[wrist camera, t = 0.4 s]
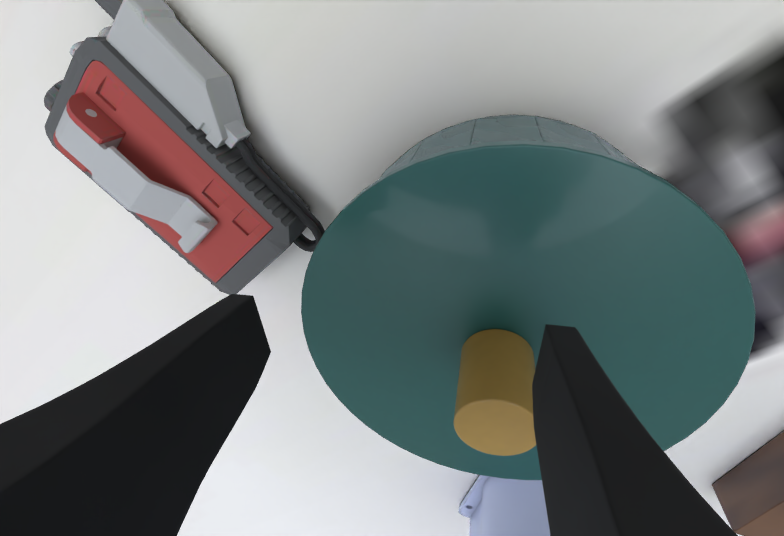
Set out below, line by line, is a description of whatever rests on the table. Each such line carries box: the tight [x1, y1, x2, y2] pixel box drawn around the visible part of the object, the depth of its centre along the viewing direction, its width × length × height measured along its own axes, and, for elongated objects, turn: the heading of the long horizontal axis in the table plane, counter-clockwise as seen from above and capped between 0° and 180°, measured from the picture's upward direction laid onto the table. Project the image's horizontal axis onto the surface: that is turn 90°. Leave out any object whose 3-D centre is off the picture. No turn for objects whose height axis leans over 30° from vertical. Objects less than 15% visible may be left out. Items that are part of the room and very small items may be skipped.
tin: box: [380, 115, 637, 178], centre depth 18 cm, size 14×14×6 cm
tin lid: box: [301, 140, 755, 480], centre depth 14 cm, size 15×15×4 cm
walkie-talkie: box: [44, 0, 325, 295], centre depth 18 cm, size 9×4×20 cm
